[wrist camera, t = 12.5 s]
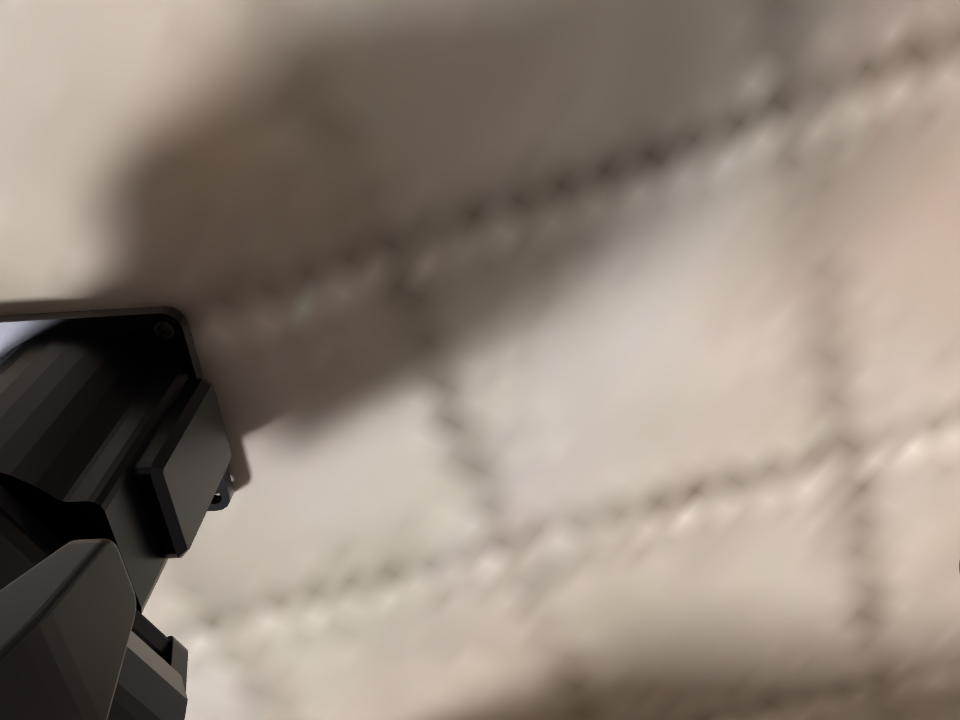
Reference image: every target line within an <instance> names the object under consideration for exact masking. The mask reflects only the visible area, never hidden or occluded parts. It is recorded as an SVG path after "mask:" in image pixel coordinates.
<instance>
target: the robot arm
mask: <svg viewBox="0 0 960 720" xmlns="http://www.w3.org/2000/svg"><path fill="white" fill-rule="evenodd" d="M160 322H167V323H168V324H170V325H171V326H172V327H173V329H174V332H168V331H166V330H164V329H163V328H162V327H161V325H160ZM231 457H232V455H231V451H230V447H229V443H228V440H227V436H226V432H225V429H224V425H223V421H222V417H221V414H220V410H219V406H218V403H217V399H216V395H215V391H214V388H213V385H212V384H211V383H210V382H209V381H208V380H207V379H205V378H203V375H202V372H201V368H200V364H199V361H198V357H197V353H196V350H195V346H194V343H193V339H192V335H191V332H190V328H189V324H188V321H187V319H186V317H185V316H184V315H183V314H182V313H181V312H180V311H179V310H177V309H175V308H172V307H165V306H164V307H147V308H130V309H113V310H96V311H79V312H62V313H45V314H28V315H12V316H0V720H184V719H185V713H186V706H187V700H188V699H187V696H186V679H187V661H188V650H187V649H186V648H185V647H184V646H183V645H182V644H181V643H180V642H178V641H177V640H176V639H175V638H174V637H173V636H168V637H166V636H165V635H164V634H163V633H162V632H161V631H160V630H158V629H157V628H156V627H155V626H154V625H153V624H152V623H151V622H150V621H149V620H148V619H146V618H145V617H144V616H143V615H142V614H141V613H142V611H143V609H144V607H145V605H146V603H147V601H148V599H149V597H150V595H151V593H152V591H153V589H154V587H155V585H156V583H157V581H158V579H159V577H160V575H161V572H162V570H163V568H164V566H165V564H166V562H167V560H168V558H182V556H183V555H184V554H185V553H186V552H187V551H188V550H189V548H190V547H191V544H192V542H193V540H194V538H195V536H196V534H197V531H198V529H199V527H200V525H201V523H202V521H203V518H204V516H205V514H206V512H207V511H217V510H222V509H224V508H225V507H227V506H228V504H229V502H230V500H231V498H232V496H233V493H234V490H233V484H232V481H231V477H230V473H229V470H228V464H229V462H230V460H231ZM215 492H218V493H220V495H219V496H218V495H215ZM959 571H960V562H959Z"/></svg>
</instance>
